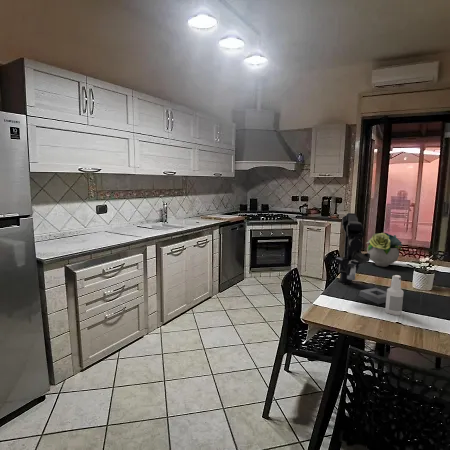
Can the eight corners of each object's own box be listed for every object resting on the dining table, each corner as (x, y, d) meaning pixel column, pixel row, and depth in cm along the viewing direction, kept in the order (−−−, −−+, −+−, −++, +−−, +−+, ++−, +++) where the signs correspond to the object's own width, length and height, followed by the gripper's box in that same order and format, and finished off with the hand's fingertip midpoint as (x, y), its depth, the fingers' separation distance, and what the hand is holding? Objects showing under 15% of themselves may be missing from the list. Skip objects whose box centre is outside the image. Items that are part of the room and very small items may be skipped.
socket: (359, 295, 168) (359, 290, 168) (375, 292, 173) (375, 287, 173) (378, 304, 157) (378, 298, 157) (394, 300, 162) (395, 295, 162)
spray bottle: (395, 316, 143) (399, 278, 140) (382, 311, 149) (385, 274, 146) (404, 313, 146) (408, 276, 144) (391, 308, 152) (394, 273, 150)
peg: (345, 278, 168) (346, 263, 166) (350, 277, 169) (351, 263, 168) (351, 280, 164) (352, 265, 163) (356, 279, 166) (357, 264, 164)
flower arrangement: (367, 259, 247) (369, 229, 244) (402, 264, 233) (406, 232, 229) (359, 266, 227) (362, 233, 224) (398, 272, 213) (401, 237, 209)
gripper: (351, 251, 153) (349, 281, 155) (379, 248, 161) (376, 277, 163) (335, 246, 163) (333, 275, 165) (361, 244, 171) (359, 271, 173)
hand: (351, 275), depth 166 cm, fingers closed on peg, 4 cm apart
